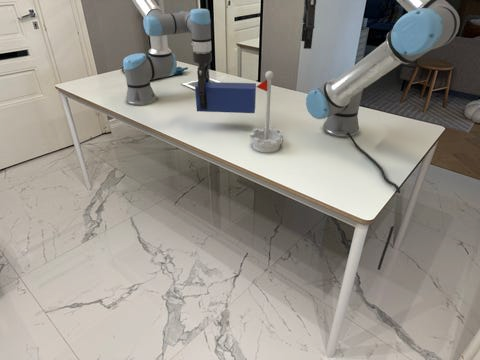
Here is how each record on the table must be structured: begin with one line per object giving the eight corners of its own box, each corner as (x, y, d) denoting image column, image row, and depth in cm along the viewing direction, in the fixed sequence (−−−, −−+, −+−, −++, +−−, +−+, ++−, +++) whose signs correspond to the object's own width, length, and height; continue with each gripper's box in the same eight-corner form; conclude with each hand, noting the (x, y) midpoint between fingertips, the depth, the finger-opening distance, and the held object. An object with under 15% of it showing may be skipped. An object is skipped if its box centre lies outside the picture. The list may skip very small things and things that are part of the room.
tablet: (181, 84, 205) (181, 83, 205) (208, 77, 216) (208, 77, 216) (213, 98, 185) (213, 97, 185) (241, 90, 196) (241, 89, 196)
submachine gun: (173, 61, 239) (192, 66, 223) (173, 67, 241) (193, 72, 225) (127, 70, 221) (144, 76, 204) (128, 76, 223) (146, 83, 206)
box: (255, 106, 152) (255, 83, 146) (254, 113, 146) (255, 88, 140) (199, 105, 154) (198, 81, 148) (196, 111, 148) (195, 87, 142)
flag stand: (273, 136, 144) (277, 64, 128) (288, 150, 134) (294, 73, 118) (245, 141, 141) (245, 68, 124) (257, 156, 130) (260, 77, 114)
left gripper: (197, 46, 146) (201, 97, 158) (187, 57, 129) (192, 114, 141) (215, 46, 145) (217, 97, 158) (207, 58, 128) (210, 114, 141)
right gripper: (299, -21, 131) (294, 38, 143) (304, -17, 110) (298, 51, 122) (318, -21, 131) (312, 38, 142) (327, -17, 110) (319, 52, 121)
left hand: (205, 105), depth 150 cm, fingers closed on box, 7 cm apart
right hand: (305, 44), depth 132 cm, fingers open, 13 cm apart
